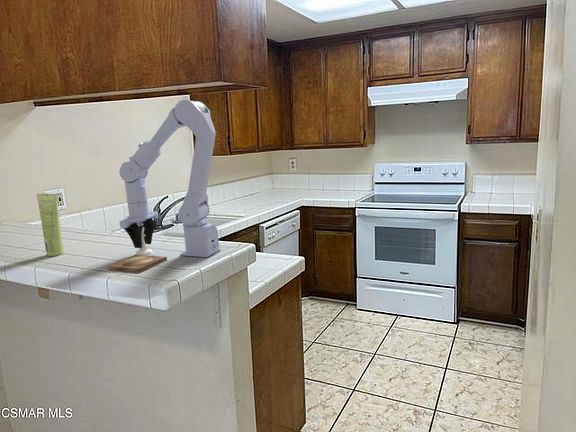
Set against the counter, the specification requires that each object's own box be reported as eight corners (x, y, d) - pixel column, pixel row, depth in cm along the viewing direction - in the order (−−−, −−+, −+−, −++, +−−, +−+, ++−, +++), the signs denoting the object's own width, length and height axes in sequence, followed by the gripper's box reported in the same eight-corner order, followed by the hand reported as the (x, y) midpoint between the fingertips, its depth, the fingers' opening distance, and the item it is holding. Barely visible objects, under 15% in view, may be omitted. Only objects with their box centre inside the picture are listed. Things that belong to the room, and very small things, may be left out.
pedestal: (167, 260, 125) (166, 256, 125) (140, 272, 115) (140, 268, 115) (136, 257, 130) (136, 253, 129) (108, 269, 120) (108, 265, 119)
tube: (66, 250, 142) (56, 191, 138) (66, 254, 138) (56, 193, 134) (46, 253, 140) (36, 193, 136) (46, 257, 135) (35, 195, 132)
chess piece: (147, 255, 131) (143, 223, 129) (132, 255, 132) (128, 223, 130) (155, 251, 136) (151, 219, 134) (141, 251, 137) (136, 219, 135)
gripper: (143, 197, 139) (148, 239, 142) (109, 206, 126) (115, 251, 128) (161, 197, 136) (166, 240, 139) (128, 206, 123) (134, 253, 126)
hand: (143, 245), depth 133 cm, fingers open, 4 cm apart
